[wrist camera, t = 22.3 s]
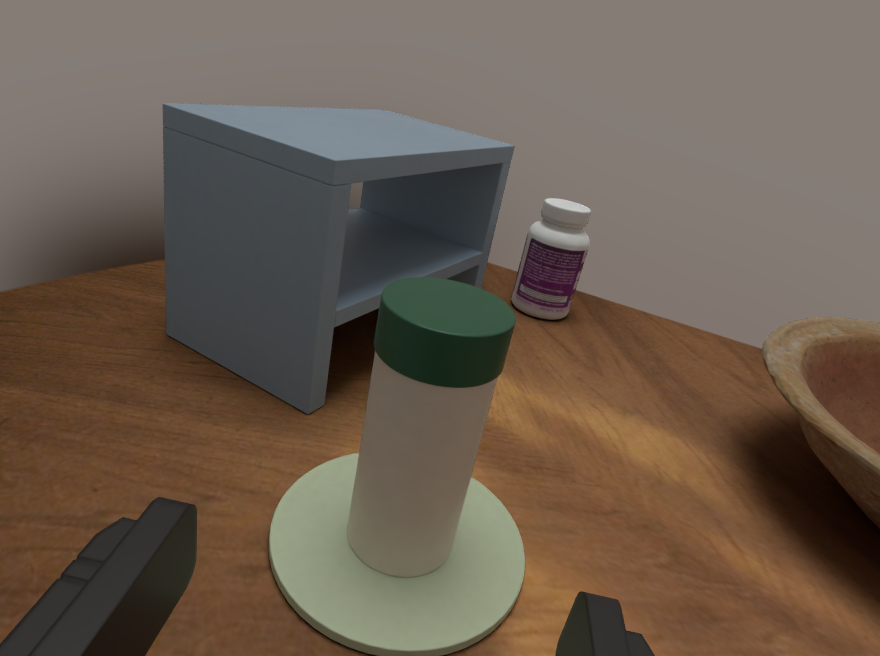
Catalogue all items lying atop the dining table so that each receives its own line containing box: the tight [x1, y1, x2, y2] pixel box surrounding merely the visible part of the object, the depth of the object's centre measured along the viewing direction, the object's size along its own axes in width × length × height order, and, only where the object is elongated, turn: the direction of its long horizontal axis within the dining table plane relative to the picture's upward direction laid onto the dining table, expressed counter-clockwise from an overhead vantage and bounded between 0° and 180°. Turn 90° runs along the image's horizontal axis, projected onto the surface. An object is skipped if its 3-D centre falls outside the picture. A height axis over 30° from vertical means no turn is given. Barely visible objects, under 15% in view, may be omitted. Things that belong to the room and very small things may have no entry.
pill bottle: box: [512, 198, 591, 320], centre depth 51 cm, size 5×5×10 cm
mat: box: [269, 453, 525, 656], centre depth 26 cm, size 11×11×1 cm
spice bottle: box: [347, 277, 516, 577], centre depth 23 cm, size 5×5×11 cm
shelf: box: [163, 103, 515, 414], centre depth 40 cm, size 12×20×14 cm, turn 149°
